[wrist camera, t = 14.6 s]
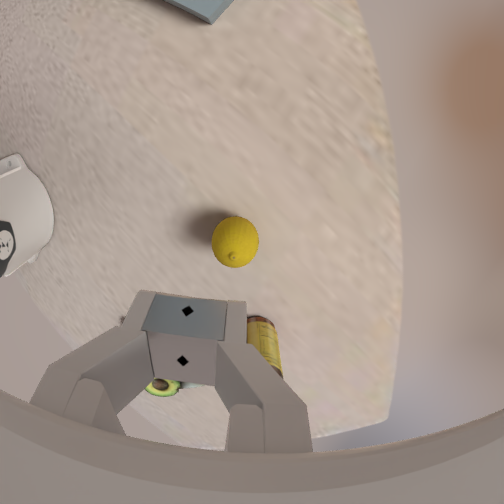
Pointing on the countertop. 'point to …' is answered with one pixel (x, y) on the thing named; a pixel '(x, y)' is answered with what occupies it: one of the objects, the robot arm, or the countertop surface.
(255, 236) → the lemon
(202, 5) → the deck
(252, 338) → the sauce bottle
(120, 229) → the countertop surface
